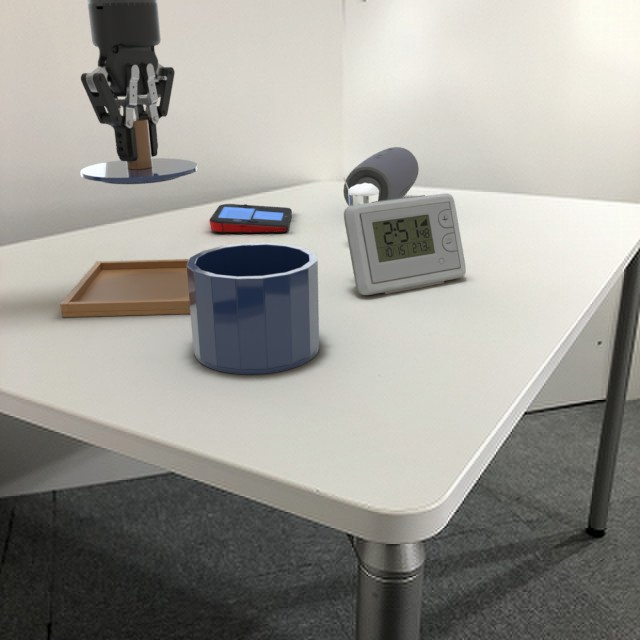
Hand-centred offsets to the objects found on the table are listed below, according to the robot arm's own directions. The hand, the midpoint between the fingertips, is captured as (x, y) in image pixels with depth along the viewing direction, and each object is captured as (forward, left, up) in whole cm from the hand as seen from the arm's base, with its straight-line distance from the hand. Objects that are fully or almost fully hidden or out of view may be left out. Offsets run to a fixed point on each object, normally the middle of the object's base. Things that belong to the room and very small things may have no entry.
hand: (138, 157), depth 92 cm
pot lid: (0, 0, -2) cm, 2 cm away
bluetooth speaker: (+34, +44, -17) cm, 58 cm away
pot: (+14, -20, -17) cm, 30 cm away
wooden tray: (0, 0, -17) cm, 17 cm away
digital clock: (+32, 0, -17) cm, 36 cm away
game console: (+11, +35, -17) cm, 40 cm away
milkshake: (+28, +20, -17) cm, 38 cm away
